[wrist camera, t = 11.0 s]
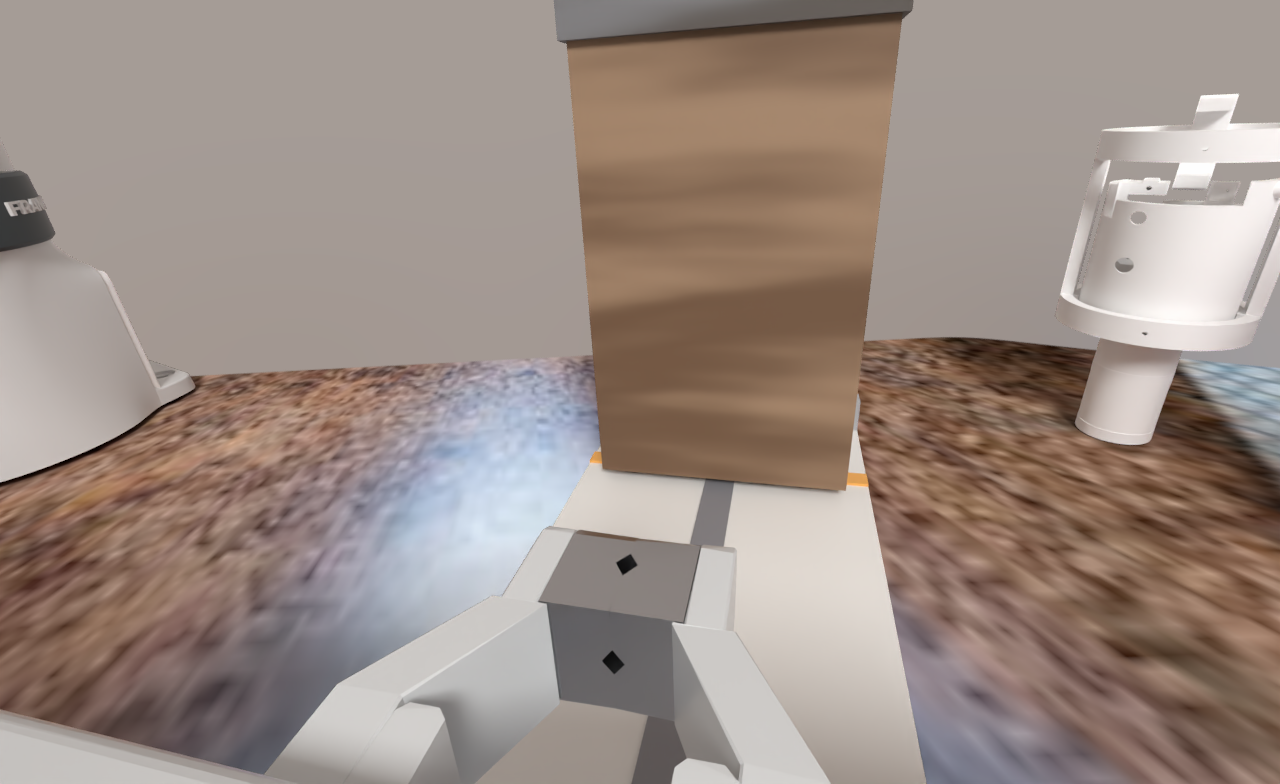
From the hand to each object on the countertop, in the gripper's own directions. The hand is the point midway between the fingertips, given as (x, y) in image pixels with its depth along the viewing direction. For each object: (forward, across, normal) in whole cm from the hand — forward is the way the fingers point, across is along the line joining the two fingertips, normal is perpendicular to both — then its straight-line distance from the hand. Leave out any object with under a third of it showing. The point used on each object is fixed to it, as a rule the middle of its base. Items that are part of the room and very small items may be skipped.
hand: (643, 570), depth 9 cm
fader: (+15, 0, -7) cm, 17 cm away
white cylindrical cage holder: (+24, +18, -9) cm, 31 cm away
